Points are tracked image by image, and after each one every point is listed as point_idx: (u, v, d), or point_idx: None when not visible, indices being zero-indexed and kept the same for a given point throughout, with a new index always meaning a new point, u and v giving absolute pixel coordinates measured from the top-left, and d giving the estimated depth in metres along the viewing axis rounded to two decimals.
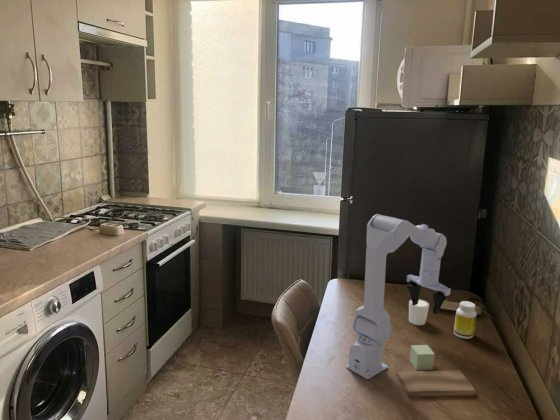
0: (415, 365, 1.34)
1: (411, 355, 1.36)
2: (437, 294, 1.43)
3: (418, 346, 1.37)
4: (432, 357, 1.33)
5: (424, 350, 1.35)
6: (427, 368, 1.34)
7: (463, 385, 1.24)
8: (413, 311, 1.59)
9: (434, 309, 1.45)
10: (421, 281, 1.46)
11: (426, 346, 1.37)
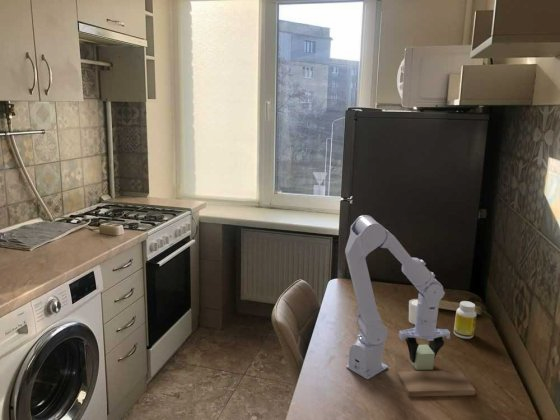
0: (415, 365, 1.34)
1: None
2: None
3: (418, 346, 1.37)
4: (432, 357, 1.33)
5: (424, 349, 1.35)
6: (427, 368, 1.34)
7: (463, 385, 1.24)
8: (413, 311, 1.59)
9: None
10: None
11: (426, 346, 1.37)
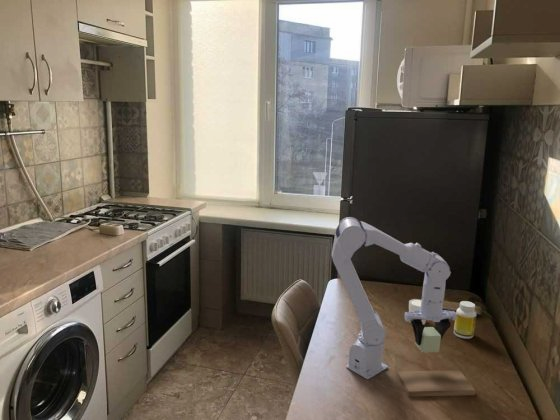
0: (421, 347, 1.30)
1: None
2: None
3: (424, 328, 1.33)
4: (438, 339, 1.29)
5: (430, 332, 1.31)
6: (433, 350, 1.30)
7: (463, 385, 1.24)
8: None
9: None
10: None
11: (432, 328, 1.33)
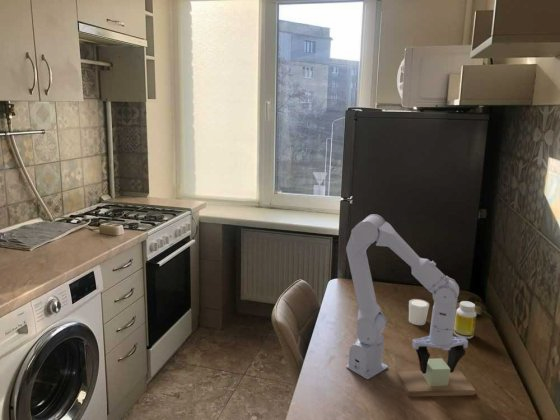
0: (429, 381, 1.24)
1: None
2: None
3: (432, 359, 1.27)
4: (447, 372, 1.23)
5: (439, 364, 1.25)
6: (442, 384, 1.24)
7: (463, 385, 1.24)
8: (413, 311, 1.59)
9: None
10: None
11: (440, 360, 1.27)
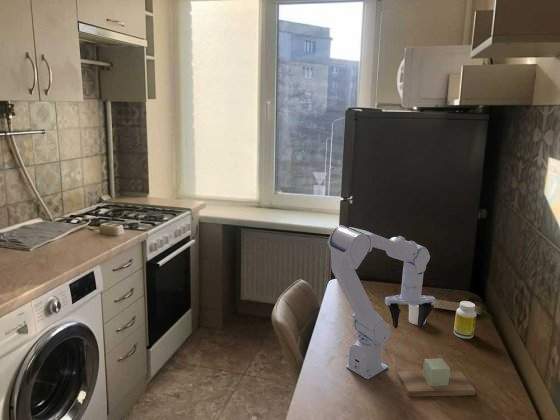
0: (429, 381, 1.24)
1: (425, 369, 1.27)
2: None
3: (432, 359, 1.27)
4: (447, 372, 1.23)
5: (439, 364, 1.25)
6: (442, 384, 1.24)
7: (463, 385, 1.24)
8: (413, 311, 1.59)
9: None
10: None
11: (440, 360, 1.27)
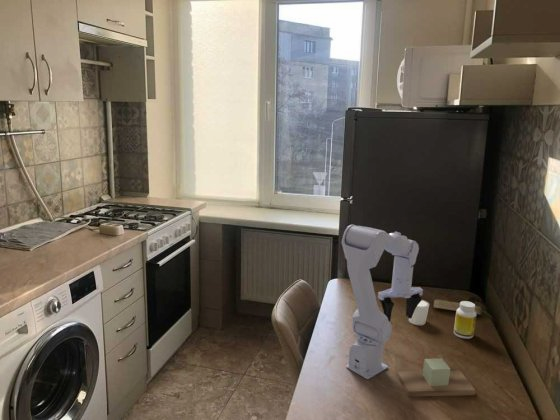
0: (429, 381, 1.24)
1: (425, 369, 1.27)
2: None
3: (432, 359, 1.27)
4: (447, 372, 1.23)
5: (439, 364, 1.25)
6: (442, 384, 1.24)
7: (463, 385, 1.24)
8: None
9: None
10: None
11: (440, 360, 1.27)
